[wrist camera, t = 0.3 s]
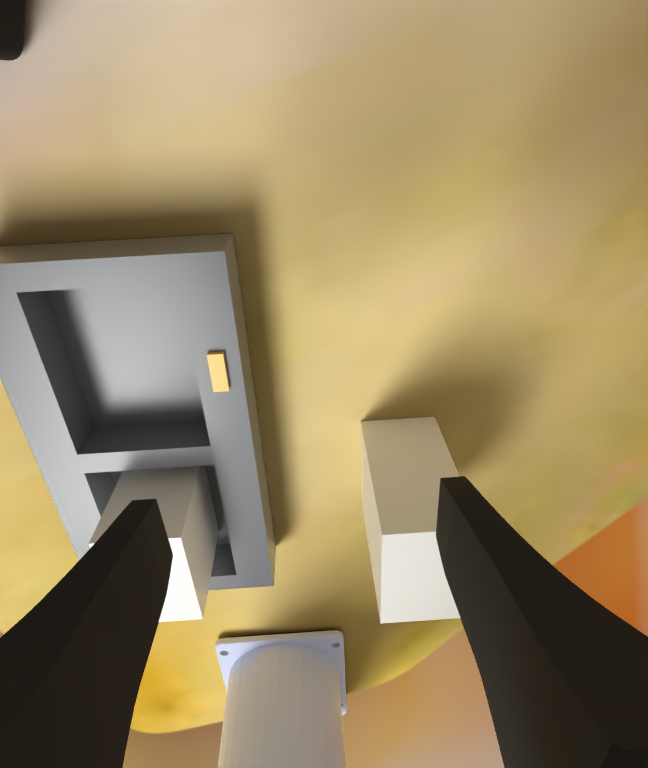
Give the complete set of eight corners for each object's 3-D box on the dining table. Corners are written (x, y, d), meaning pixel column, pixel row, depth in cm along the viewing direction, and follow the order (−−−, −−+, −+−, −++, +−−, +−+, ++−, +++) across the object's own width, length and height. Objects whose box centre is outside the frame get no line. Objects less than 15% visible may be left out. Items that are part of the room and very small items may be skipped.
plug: (427, 495, 26) (467, 617, 20) (361, 500, 26) (380, 623, 20) (434, 416, 23) (481, 528, 17) (360, 421, 23) (382, 535, 17)
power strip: (275, 546, 27) (270, 642, 22) (111, 557, 27) (71, 656, 22) (232, 233, 19) (210, 279, 14) (-8, 246, 18) (-114, 298, 14)
